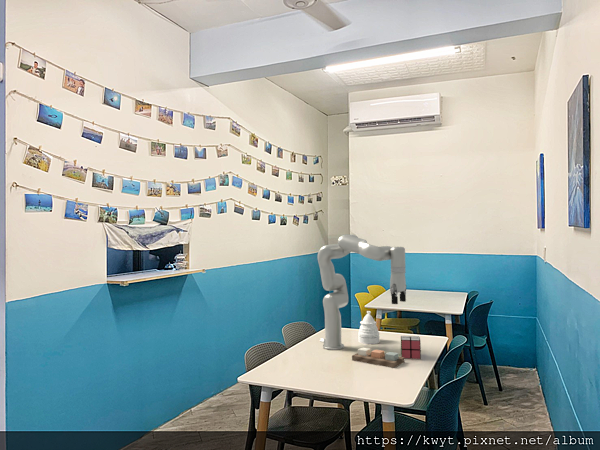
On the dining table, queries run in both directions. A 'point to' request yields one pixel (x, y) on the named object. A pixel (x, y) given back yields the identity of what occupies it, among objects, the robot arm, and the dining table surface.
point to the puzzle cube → (410, 347)
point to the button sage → (391, 356)
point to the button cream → (364, 351)
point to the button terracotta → (377, 354)
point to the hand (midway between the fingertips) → (398, 302)
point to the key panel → (378, 360)
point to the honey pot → (368, 330)
